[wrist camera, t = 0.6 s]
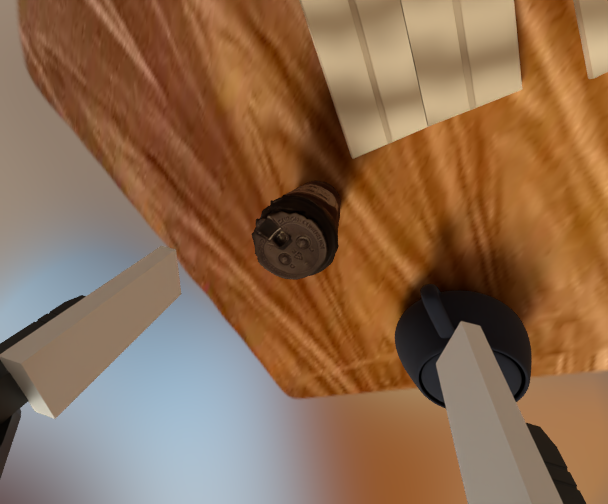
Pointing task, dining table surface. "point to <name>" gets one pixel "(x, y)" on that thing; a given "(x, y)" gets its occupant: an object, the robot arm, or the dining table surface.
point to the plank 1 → (367, 69)
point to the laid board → (462, 53)
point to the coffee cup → (299, 231)
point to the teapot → (441, 326)
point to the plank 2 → (593, 34)
